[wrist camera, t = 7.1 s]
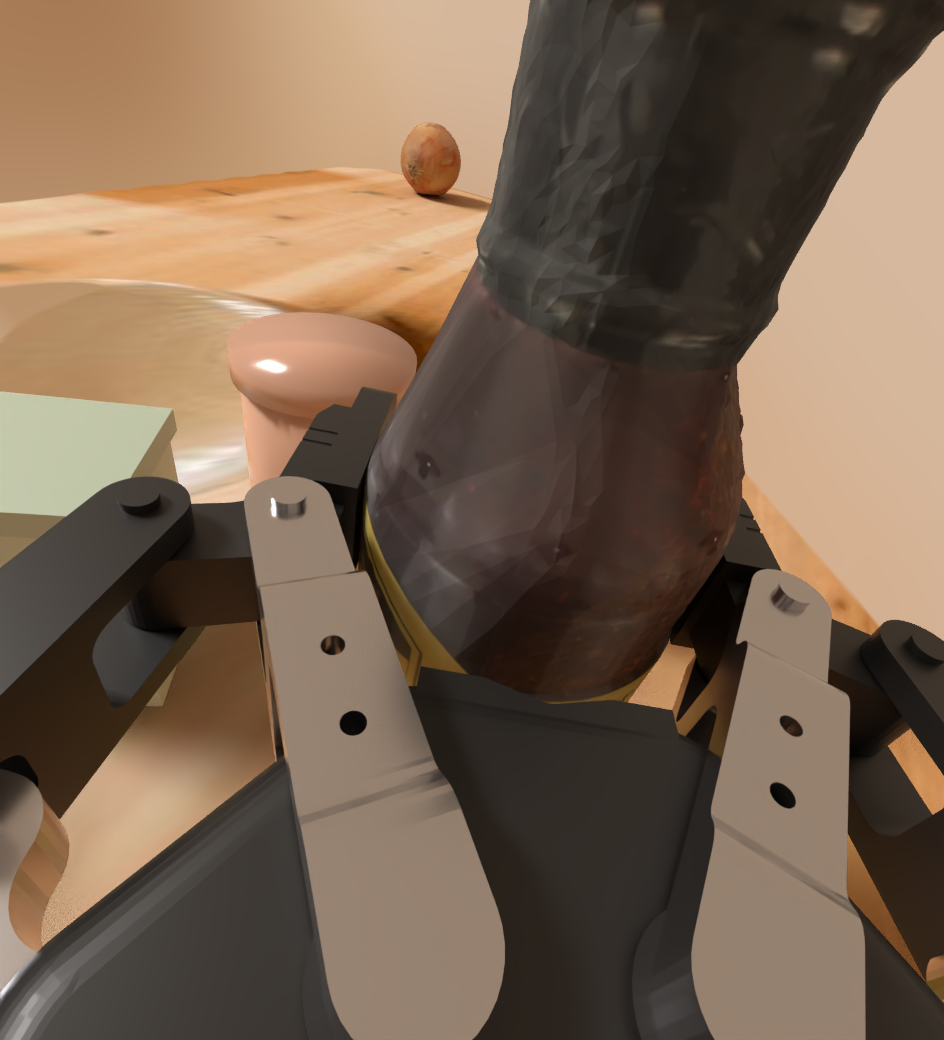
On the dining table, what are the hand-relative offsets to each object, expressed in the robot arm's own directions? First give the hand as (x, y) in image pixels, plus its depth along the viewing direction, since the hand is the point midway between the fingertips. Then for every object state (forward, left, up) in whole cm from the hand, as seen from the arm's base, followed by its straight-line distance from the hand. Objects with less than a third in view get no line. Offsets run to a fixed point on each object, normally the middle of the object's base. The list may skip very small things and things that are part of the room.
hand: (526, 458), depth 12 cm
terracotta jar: (-7, +9, -12) cm, 17 cm away
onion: (-14, +96, -13) cm, 97 cm away
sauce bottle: (0, -2, -11) cm, 11 cm away
